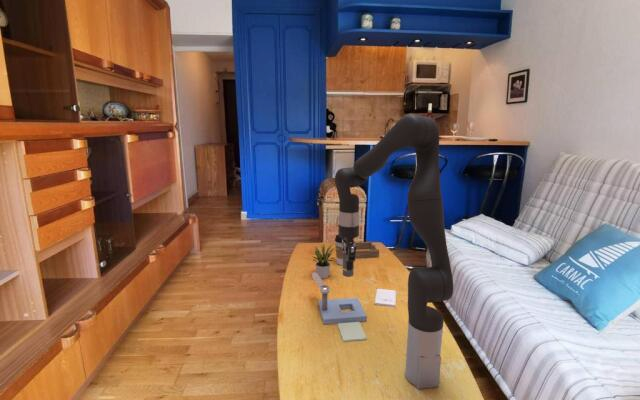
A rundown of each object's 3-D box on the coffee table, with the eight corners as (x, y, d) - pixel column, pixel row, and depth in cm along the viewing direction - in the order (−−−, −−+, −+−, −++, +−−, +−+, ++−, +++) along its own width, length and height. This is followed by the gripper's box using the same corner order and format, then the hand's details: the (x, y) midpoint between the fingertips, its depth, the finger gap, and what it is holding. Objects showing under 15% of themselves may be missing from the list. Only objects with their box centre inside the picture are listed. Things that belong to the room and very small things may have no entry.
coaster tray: (378, 257, 188) (379, 250, 188) (353, 258, 187) (353, 251, 186) (371, 248, 202) (371, 241, 201) (347, 249, 200) (348, 242, 199)
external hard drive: (396, 293, 150) (395, 308, 138) (376, 291, 152) (374, 306, 140) (396, 290, 150) (395, 304, 138) (376, 288, 151) (374, 302, 140)
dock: (366, 321, 128) (367, 299, 126) (323, 324, 126) (323, 302, 124) (357, 302, 142) (357, 282, 140) (318, 304, 140) (318, 284, 138)
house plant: (343, 271, 171) (343, 239, 167) (337, 284, 157) (338, 249, 154) (315, 268, 174) (314, 237, 170) (307, 280, 161) (306, 247, 157)
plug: (355, 276, 128) (355, 256, 126) (343, 277, 127) (343, 256, 125) (352, 271, 132) (353, 251, 131) (340, 272, 132) (340, 252, 130)
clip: (318, 275, 145) (318, 271, 144) (330, 292, 130) (331, 288, 130) (309, 276, 144) (309, 273, 143) (321, 294, 129) (321, 290, 129)
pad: (366, 339, 117) (366, 338, 117) (343, 341, 116) (343, 340, 116) (359, 323, 127) (359, 321, 127) (337, 324, 126) (337, 323, 126)
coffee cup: (332, 265, 178) (332, 237, 175) (336, 259, 186) (337, 232, 183) (348, 267, 176) (349, 238, 172) (352, 261, 184) (352, 233, 180)
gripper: (364, 228, 119) (362, 274, 123) (354, 217, 133) (353, 259, 137) (342, 229, 118) (341, 276, 122) (335, 218, 132) (334, 260, 136)
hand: (348, 267), depth 129 cm, fingers closed on plug, 4 cm apart
